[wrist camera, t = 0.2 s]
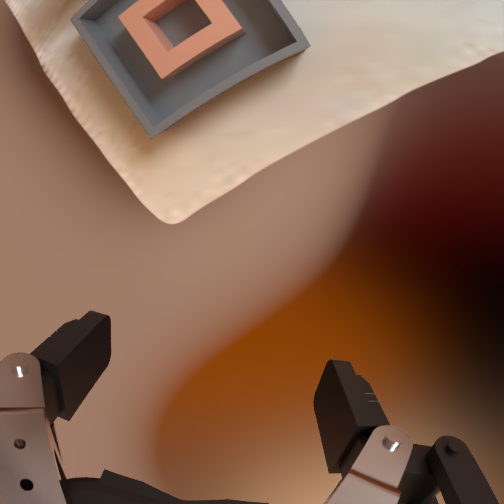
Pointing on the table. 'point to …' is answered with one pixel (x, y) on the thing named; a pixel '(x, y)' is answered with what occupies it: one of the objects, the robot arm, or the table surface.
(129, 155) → the table surface
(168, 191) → the table surface
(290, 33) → the walled bin
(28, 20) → the table surface
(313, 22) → the table surface
